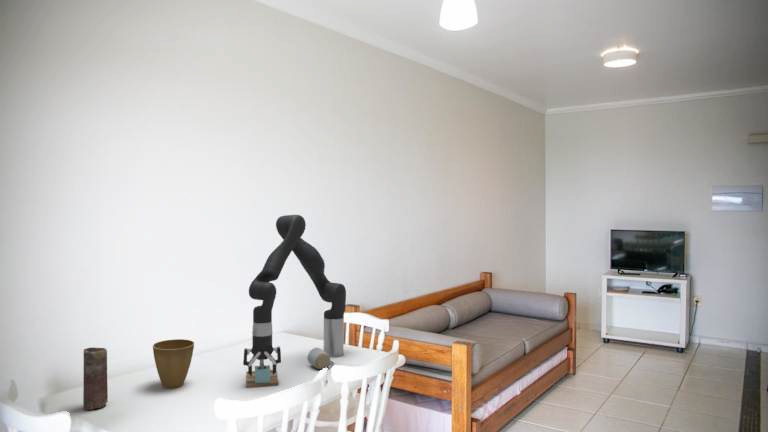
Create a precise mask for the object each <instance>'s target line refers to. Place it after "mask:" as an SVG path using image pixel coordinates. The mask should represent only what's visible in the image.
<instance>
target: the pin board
mask: <svg viewBox="0 0 768 432" xmlns="http://www.w3.org/2000/svg"><path fill="white" fill-rule="evenodd" d="M264 365H265V361H264V359H262V360H259V366H260V369H264ZM245 379H246V380H245V381H246V382H245V383H246V385H245V386H246V389H247V388H249V389H250V388H261V387H262V388H263V387H275V386H276V387H277V386H279V377H278V371H277V369H276V373H275V374H273V369H270V382H268V383H255V370H252V376H250V375H249V374H248V371H246V377H245Z"/></svg>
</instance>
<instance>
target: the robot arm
mask: <svg viewBox="0 0 768 432" xmlns="http://www.w3.org/2000/svg"><path fill="white" fill-rule="evenodd" d="M306 225H307V224H306V220H305V218H304V217H303V216H302V215H301V214H286V215H282V216H280V217H278V218H277V219H276V222H275V228H276V231H277V233H278V235H279V236H280V237H281V238H282V241H281V242H280V244H279V245H278V246H277V247H276V248H275V249H273V251H272V252H271V253H270V255H269V256H268V257H267V258H266V261H265V262H264V266H263V267H262V269H261V271H259V273H258V274H257V276H255V278H254V279H252V281H251V283H250V284H249V288H248V296H249V297H250V299H253V300H258V301H262V303H261V305H257V306H255V307H254V308H253V311H252V313H253V314H252V317H253V318H252V332H251V334H252V337H251V338H252V340H251V341H252V343H251V345H252V347H251V348H247V347H246V348H244V349H243V364H242V365H243V366H247V369H248V371H247V372H248V374H249V375H250V376H252V371H253V364H254V363H255V362H256V360H258V361H260V360H262V359H264V360H265V361H266V360H267V359H268V360H269V361H270V362H271V363H272V370H273V374H275V373H276V370H277V365H278V364H280V363H281V362H282V353H281V352H282V351H281V346H276V347H273V333H274V332H273V322H272V319H273V318H272V316H273V313H272V312H273V308H274V303H275V300H276V297H277V288H276V286H275V284H274V283H273V282H274V281H277V280H278V278H279V276H280V274H281V272H282V270H283V268H284V265H285V263H286V261H287V260H288V258H289V256H290V254H291V252H292V253H293V254H294V255H295V256H296V258H297V260H298V262H300V264H301V266H302V268H303V269H304V271H305V272H306V273H307V275H308V277H309V278H310V280H311V281H312V283H313V285H314V286H315V288H316V291H317V293H318V295H319V297H320V298H321V300H322V301H324V302H326V303H330V304H331V307H330V308H329V309H327V310H324V312H323V351H324V352H326V353H327V354H328V355H329V357H330V358H331V357H332V358H338V357H341V356H344V340H345V339H344V337H345V336H344V333H345V331H344V330H345V328H344V326H345V325H344V323H345V321H344V320H345V318H344V315H345V313H346V303H347V302H346V301H347V290H346V287H345V285H344V284H342V283H337V282H331V281H330V280H329V279H328V278H327V276H326V275H325V266H326V264H325V260H324V258H323V257H322V255H321V253H320V252H319V250H317V248H315V246H313V245H312V244H310V243H309V242H307V241H305V240H304V239H303V238H302V236H303V235H304V233H305V230H306ZM273 352H275V354H277V356H276V357H277V359H275V357H274V356H273V355H272V354H273ZM250 353H251V354H252V356H251V358H250V360H249V361H248V356H249V355H250Z"/></svg>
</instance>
